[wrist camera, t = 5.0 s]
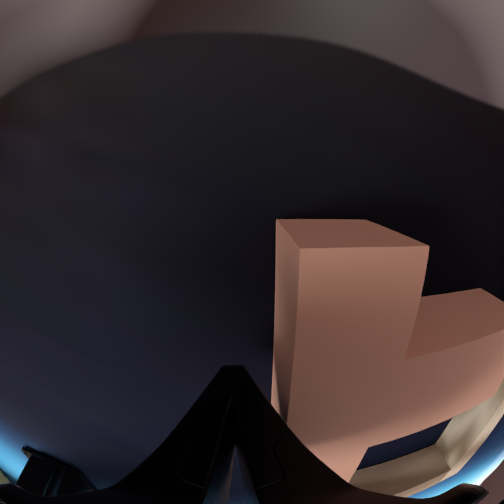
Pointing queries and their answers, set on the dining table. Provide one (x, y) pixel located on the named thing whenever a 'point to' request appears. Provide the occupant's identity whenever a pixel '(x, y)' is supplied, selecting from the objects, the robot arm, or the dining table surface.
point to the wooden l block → (435, 453)
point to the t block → (372, 340)
